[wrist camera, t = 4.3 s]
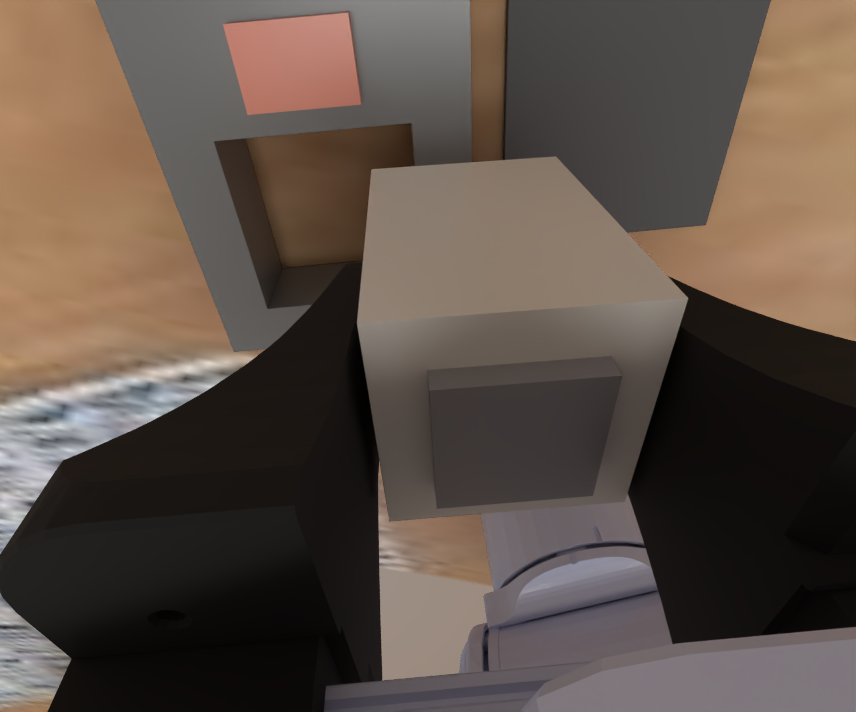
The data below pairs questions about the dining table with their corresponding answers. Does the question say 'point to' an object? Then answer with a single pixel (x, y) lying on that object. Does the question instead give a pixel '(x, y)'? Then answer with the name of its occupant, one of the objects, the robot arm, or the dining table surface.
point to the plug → (507, 339)
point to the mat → (631, 97)
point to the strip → (281, 116)
